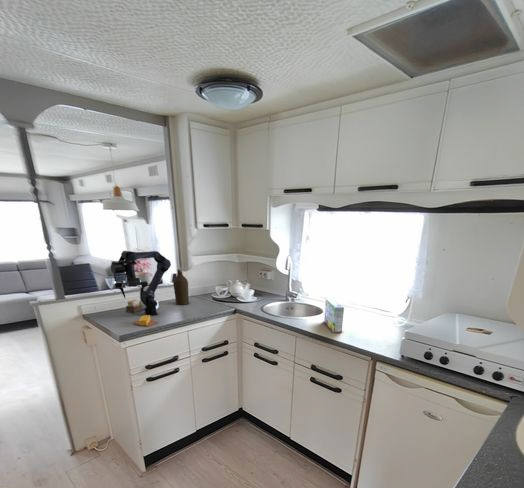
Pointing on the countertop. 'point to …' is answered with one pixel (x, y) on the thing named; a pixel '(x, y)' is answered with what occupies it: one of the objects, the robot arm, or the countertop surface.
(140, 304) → the syrup box
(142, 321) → the bar
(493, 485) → the countertop surface
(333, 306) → the snack box
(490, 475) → the countertop surface
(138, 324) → the mat
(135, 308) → the tower
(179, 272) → the olive oil
